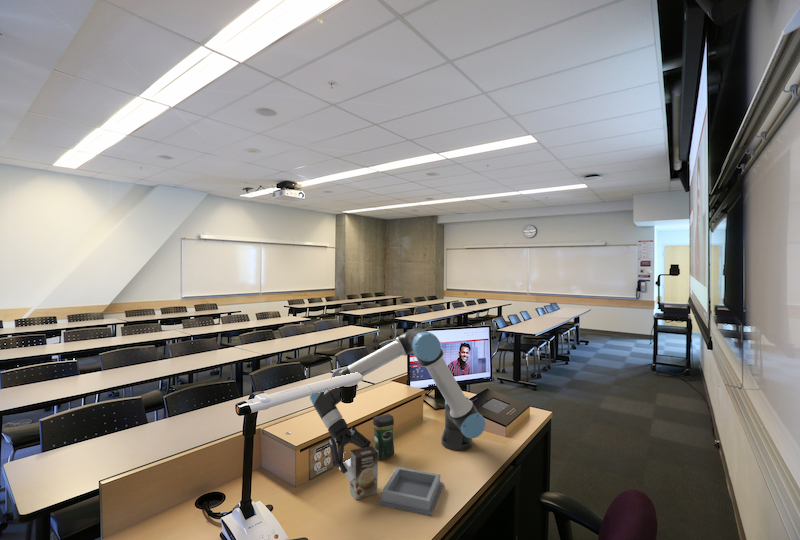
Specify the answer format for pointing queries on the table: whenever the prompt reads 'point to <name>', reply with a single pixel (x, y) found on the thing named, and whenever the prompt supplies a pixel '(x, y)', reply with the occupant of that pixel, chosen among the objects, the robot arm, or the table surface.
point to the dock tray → (412, 491)
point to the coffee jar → (383, 436)
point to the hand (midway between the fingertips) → (363, 471)
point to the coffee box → (364, 472)
